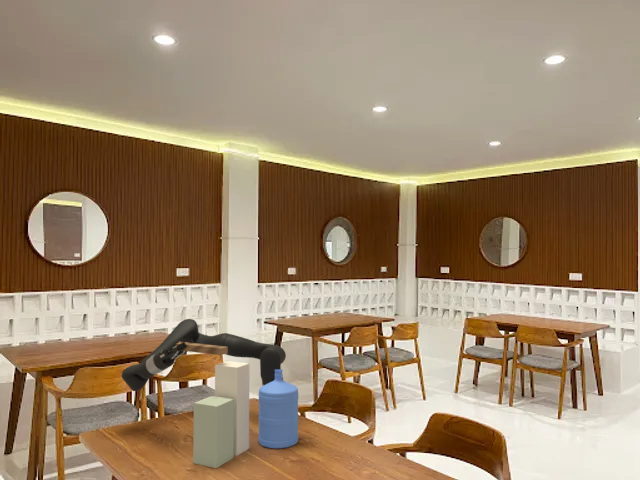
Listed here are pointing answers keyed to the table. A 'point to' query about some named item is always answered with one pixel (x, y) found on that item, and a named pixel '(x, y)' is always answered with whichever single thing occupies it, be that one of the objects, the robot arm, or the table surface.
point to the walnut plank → (205, 348)
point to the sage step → (213, 431)
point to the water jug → (278, 413)
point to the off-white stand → (235, 398)
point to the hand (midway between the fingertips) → (189, 343)
